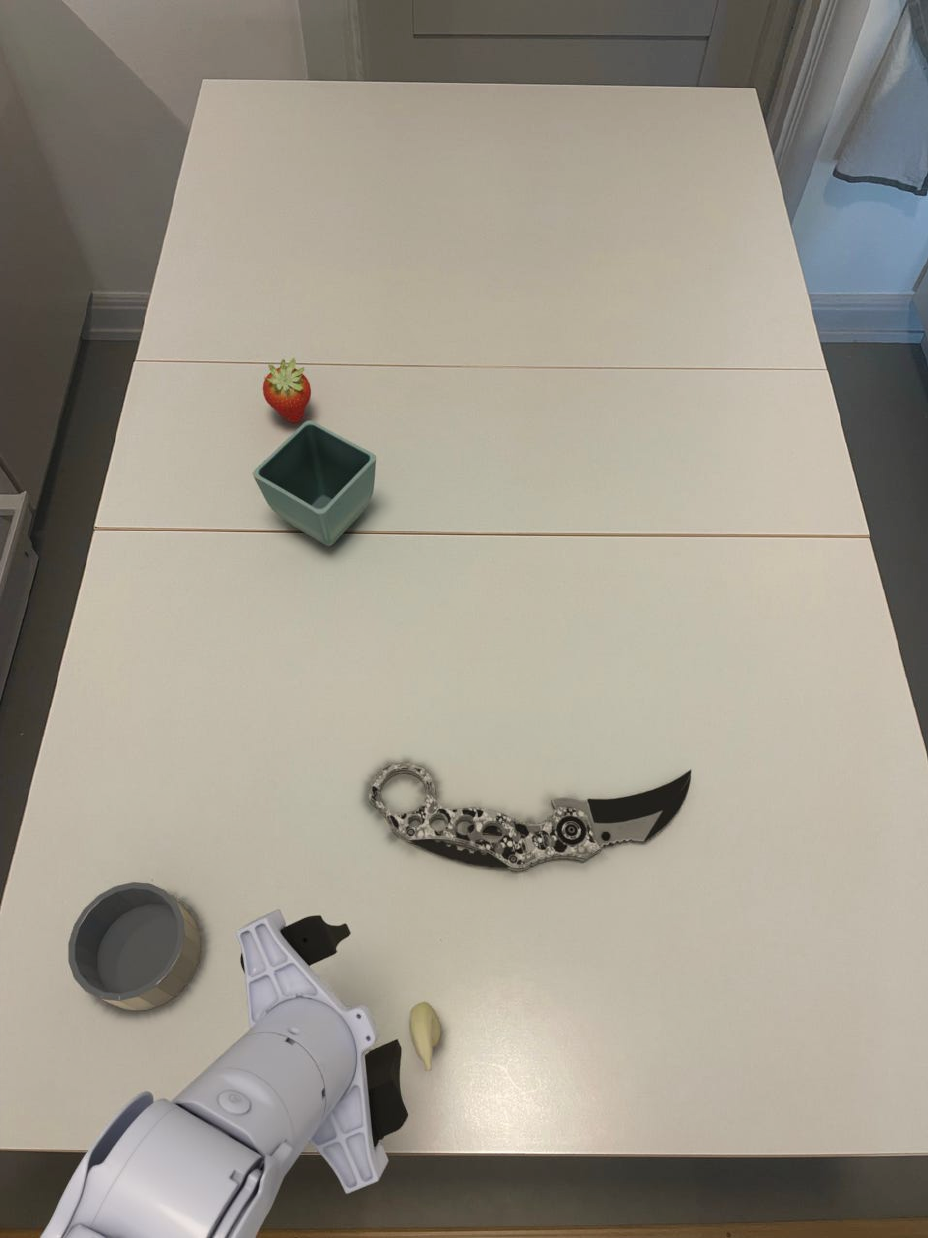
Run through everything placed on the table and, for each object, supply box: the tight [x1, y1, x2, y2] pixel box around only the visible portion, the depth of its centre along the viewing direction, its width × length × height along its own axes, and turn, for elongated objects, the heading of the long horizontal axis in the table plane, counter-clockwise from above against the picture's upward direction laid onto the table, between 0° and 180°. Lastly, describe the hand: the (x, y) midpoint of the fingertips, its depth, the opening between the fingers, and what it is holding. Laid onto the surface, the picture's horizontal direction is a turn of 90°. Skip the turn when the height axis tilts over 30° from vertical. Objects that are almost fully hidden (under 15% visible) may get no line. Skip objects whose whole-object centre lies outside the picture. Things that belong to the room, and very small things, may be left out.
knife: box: [368, 762, 692, 872], centre depth 76 cm, size 28×2×10 cm
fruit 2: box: [408, 1001, 442, 1072], centre depth 64 cm, size 4×8×2 cm
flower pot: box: [252, 420, 377, 547], centre depth 89 cm, size 9×9×9 cm
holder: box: [67, 881, 202, 1012], centre depth 68 cm, size 8×8×6 cm
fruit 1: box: [262, 357, 312, 423], centre depth 97 cm, size 5×5×8 cm
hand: (360, 991), depth 56 cm, fingers open, 7 cm apart
